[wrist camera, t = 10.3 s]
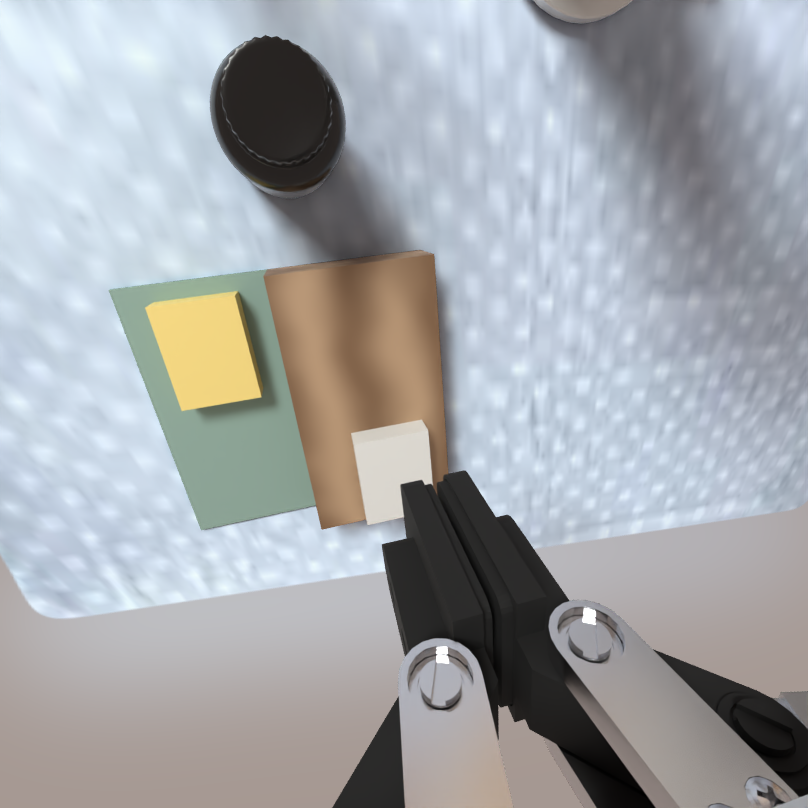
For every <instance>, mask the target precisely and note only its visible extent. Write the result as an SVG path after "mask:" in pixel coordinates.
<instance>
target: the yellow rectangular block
mask: <svg viewBox="0 0 808 808" xmlns="http://www.w3.org/2000/svg"><path fill="white" fill-rule="evenodd" d="M145 309H146V312H147V315H148V318H149V320H150V323H151V326H152V329H153V332H154V334H155V337H156V340H157V343H158V346H159V348H160V351H161V354H162V357H163V360H164V362H165V365H166V368H167V371H168V374H169V377H170V379H171V382H172V385H173V388H174V391H175V393H176V396H177V399H178V402H179V405H180V407H181V410H182V411H185V410H191V409H197V408H203V407H208V406H214V405H220V404H226V403H231V402H237V401H243V400H249V399H254V398H260V397H262V393H263V384H262V381H261V377H260V373H259V369H258V365H257V361H256V357H255V354H254V350H253V346H252V342H251V338H250V334H249V330H248V326H247V323H246V319H245V315H244V311H243V307H242V303H241V299H240V296H239V292H238V291H234V292H227V293H219V294H212V295H204V296H197V297H189V298H182V299H174V300H167V301H159V302H153V303H152V304H150V305H148V306H147V307H145Z"/></svg>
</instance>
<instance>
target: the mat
mask: <svg viewBox="0 0 808 808" xmlns="http://www.w3.org/2000/svg"><path fill="white" fill-rule="evenodd" d="M266 271H267V270H259V271H251V272H243V273H236V274H228V275H220V276H212V277H204V278H196V279H189V280H181V281H173V282H165V283H157V284H149V285H142V286H134V287H126V288H118V289H110V290H109V292H110V295H111V297H112V300H113V303H114V305H115V308H116V310H117V313H118V316H119V318H120V321H121V323H122V326H123V329H124V331H125V334H126V336H127V339H128V342H129V344H130V347H131V349H132V352H133V355H134V357H135V360H136V362H137V365H138V367H139V370H140V373H141V375H142V378H143V380H144V383H145V386H146V388H147V391H148V393H149V396H150V399H151V401H152V404H153V406H154V409H155V412H156V414H157V417H158V419H159V422H160V425H161V427H162V430H163V432H164V435H165V438H166V440H167V443H168V445H169V448H170V451H171V453H172V456H173V458H174V461H175V464H176V466H177V469H178V471H179V474H180V476H181V479H182V482H183V484H184V487H185V489H186V492H187V495H188V497H189V500H190V502H191V505H192V508H193V510H194V513H195V515H196V518H197V521H198V523H199V526H200V528H201V530H204V529H209V528H213V527H218V526H223V525H227V524H232V523H236V522H241V521H246V520H250V519H255V518H260V517H264V516H269V515H273V514H278V513H283V512H287V511H292V510H297V509H301V508H306V507H310V506H315V505H316V503H315V498H314V494H313V490H312V485H311V481H310V477H309V472H308V468H307V464H306V459H305V455H304V451H303V446H302V442H301V438H300V433H299V429H298V425H297V420H296V416H295V412H294V407H293V403H292V399H291V394H290V390H289V386H288V381H287V377H286V373H285V368H284V364H283V360H282V355H281V351H280V347H279V342H278V338H277V334H276V330H275V325H274V321H273V317H272V312H271V308H270V304H269V299H268V295H267V291H266V286H265V282H264V278H263V276H264V274H265V272H266ZM234 291H238V292H239V296H240V299H241V303H242V307H243V311H244V315H245V319H246V323H247V326H248V330H249V334H250V338H251V342H252V346H253V350H254V354H255V357H256V361H257V365H258V369H259V373H260V377H261V381H262V384H263V393H262V397H260V398H254V399H249V400H243V401H237V402H231V403H226V404H220V405H214V406H208V407H203V408H197V409H191V410H185V411H182V410H181V407H180V405H179V402H178V399H177V396H176V393H175V391H174V388H173V385H172V382H171V379H170V377H169V374H168V371H167V368H166V365H165V362H164V360H163V357H162V354H161V351H160V348H159V346H158V343H157V340H156V337H155V334H154V332H153V329H152V326H151V323H150V320H149V318H148V315H147V312H146V309H145V307H147V306H148V305H150V304H152V303H153V302H159V301H167V300H174V299H182V298H189V297H197V296H204V295H212V294H219V293H227V292H234Z"/></svg>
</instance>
